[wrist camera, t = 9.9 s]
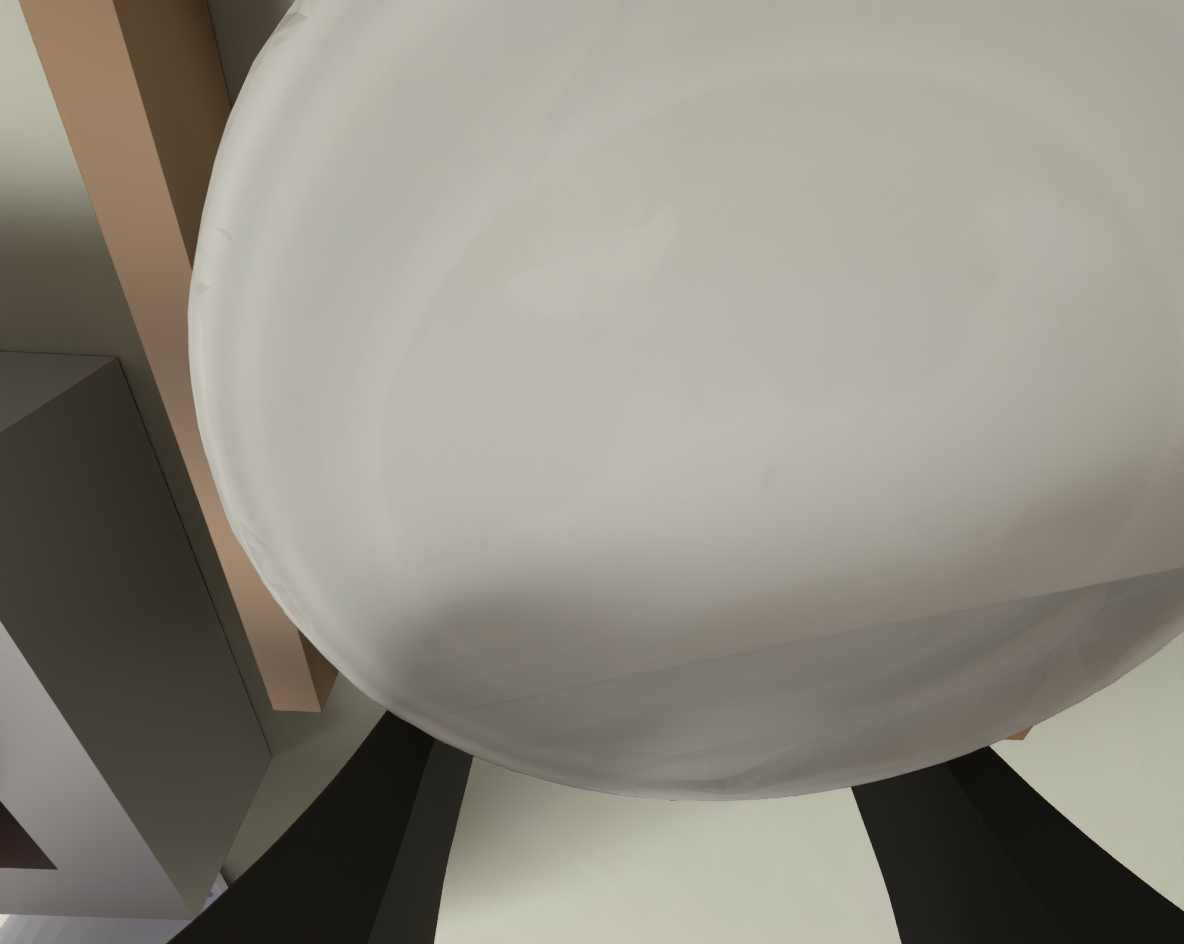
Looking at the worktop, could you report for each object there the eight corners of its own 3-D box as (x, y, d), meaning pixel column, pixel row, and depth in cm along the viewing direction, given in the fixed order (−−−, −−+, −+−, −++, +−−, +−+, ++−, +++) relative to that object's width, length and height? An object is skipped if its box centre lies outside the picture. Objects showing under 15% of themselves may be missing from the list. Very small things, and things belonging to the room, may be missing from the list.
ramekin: (689, 645, 15) (726, 890, 11) (240, 359, 11) (9, 560, 7) (1182, 292, 10) (1608, 472, 6) (702, -422, 6) (922, -1414, 2)
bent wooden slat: (977, 665, 15) (1022, 740, 14) (309, 636, 15) (273, 710, 13) (1493, -228, 7) (1764, -310, 5) (37, -333, 7) (-145, -454, 5)
